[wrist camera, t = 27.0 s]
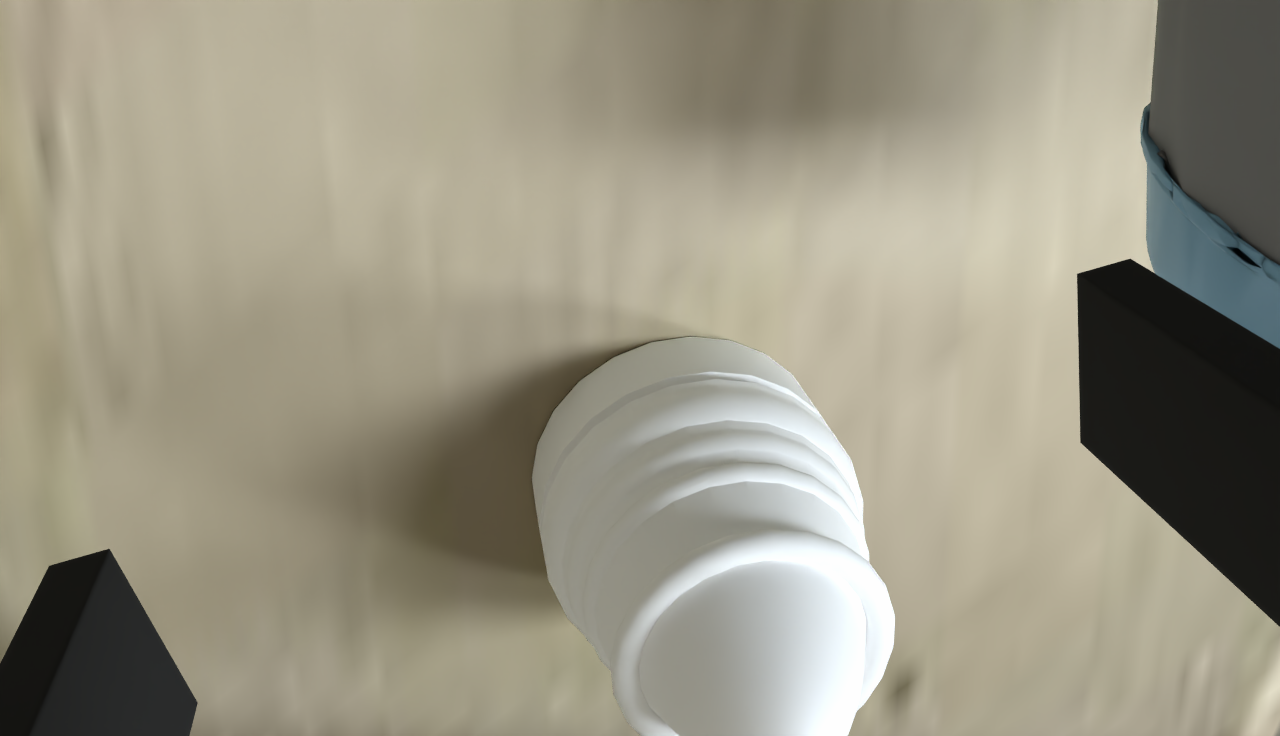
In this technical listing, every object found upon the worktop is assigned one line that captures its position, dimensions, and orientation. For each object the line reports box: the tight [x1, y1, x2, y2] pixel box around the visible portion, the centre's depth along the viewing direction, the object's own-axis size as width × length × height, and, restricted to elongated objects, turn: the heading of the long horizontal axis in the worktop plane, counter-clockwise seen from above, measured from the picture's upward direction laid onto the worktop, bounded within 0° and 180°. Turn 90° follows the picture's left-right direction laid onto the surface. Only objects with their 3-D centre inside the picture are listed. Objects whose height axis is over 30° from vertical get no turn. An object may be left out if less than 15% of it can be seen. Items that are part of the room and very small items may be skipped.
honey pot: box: [532, 336, 895, 736], centre depth 39 cm, size 13×13×18 cm
